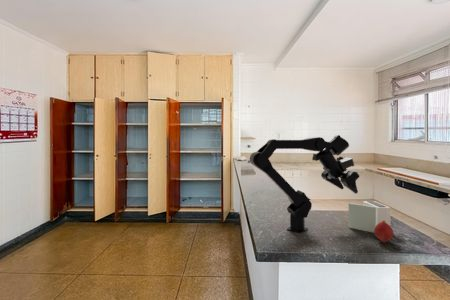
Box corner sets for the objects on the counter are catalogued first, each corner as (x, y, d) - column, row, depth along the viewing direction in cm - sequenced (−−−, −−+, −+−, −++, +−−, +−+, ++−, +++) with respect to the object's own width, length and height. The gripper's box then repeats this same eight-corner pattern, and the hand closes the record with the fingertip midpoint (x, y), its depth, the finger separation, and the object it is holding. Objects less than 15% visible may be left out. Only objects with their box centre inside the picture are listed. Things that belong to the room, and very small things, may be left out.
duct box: (377, 233, 104) (377, 207, 104) (363, 224, 115) (363, 200, 115) (390, 232, 104) (390, 206, 104) (374, 223, 115) (374, 200, 115)
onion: (370, 239, 98) (370, 218, 98) (385, 238, 98) (385, 217, 98) (381, 245, 92) (381, 222, 92) (397, 244, 92) (397, 222, 92)
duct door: (375, 232, 104) (375, 207, 103) (348, 227, 111) (348, 203, 110) (376, 232, 104) (376, 206, 104) (349, 226, 111) (349, 203, 111)
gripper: (358, 151, 103) (379, 182, 105) (330, 149, 121) (349, 175, 123) (337, 169, 101) (359, 200, 103) (312, 165, 120) (331, 191, 122)
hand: (349, 190), depth 113 cm, fingers open, 9 cm apart
